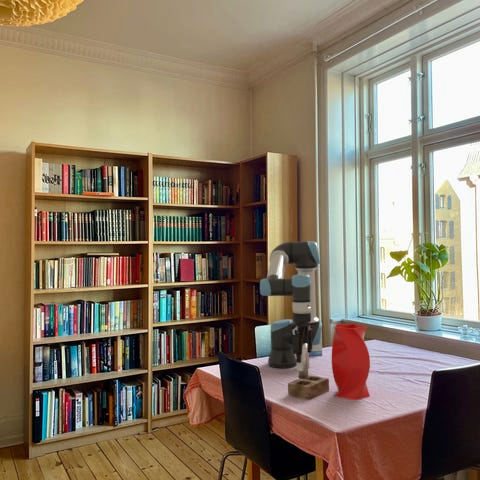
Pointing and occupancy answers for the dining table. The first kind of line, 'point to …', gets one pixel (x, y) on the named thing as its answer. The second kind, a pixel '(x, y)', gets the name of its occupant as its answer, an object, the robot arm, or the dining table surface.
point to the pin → (304, 363)
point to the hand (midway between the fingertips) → (303, 369)
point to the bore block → (308, 387)
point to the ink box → (317, 348)
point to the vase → (350, 361)
